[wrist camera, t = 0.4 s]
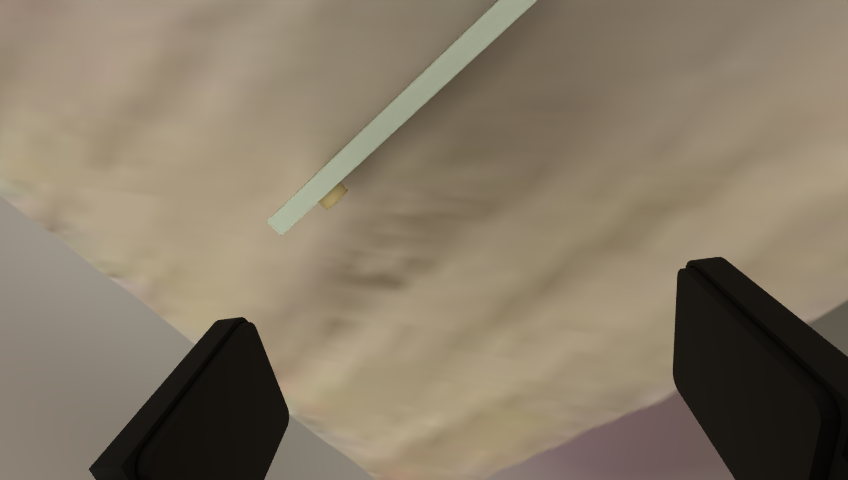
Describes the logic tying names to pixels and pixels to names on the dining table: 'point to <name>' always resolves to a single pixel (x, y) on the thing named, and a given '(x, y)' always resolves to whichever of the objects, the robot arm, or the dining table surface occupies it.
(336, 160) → the cabinet door
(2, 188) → the dining table surface
